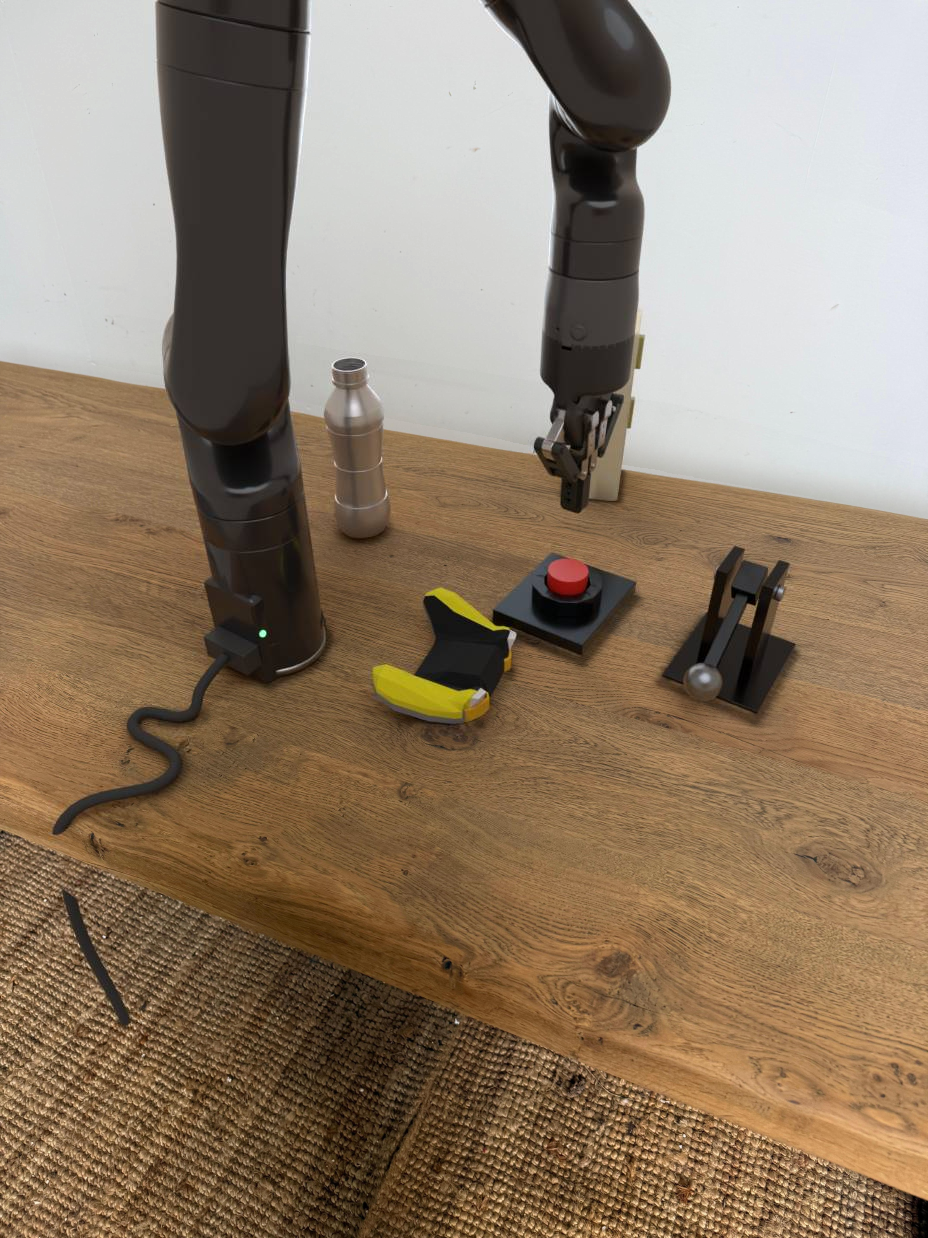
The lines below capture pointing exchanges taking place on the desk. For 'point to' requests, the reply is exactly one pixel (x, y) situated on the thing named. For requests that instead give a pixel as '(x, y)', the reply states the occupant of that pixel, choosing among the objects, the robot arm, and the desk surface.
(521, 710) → the desk surface
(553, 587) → the button
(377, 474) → the silver metal bottle
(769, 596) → the switch bracket
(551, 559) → the control box
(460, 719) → the gaming controller
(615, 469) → the toy refrigerator
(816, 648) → the desk surface
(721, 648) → the switch lever
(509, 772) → the desk surface
